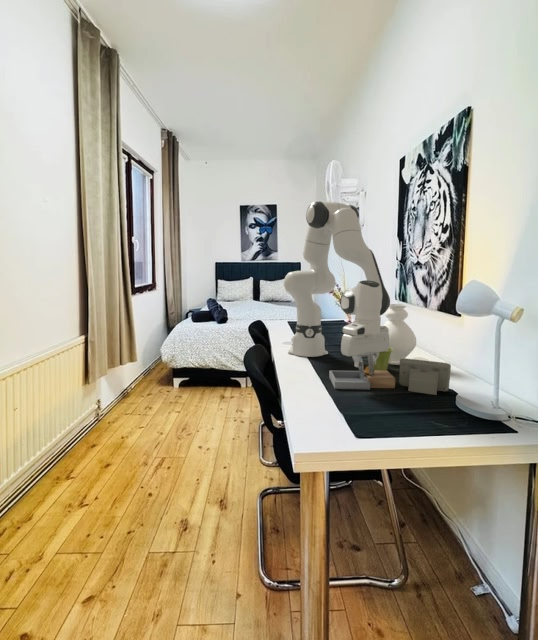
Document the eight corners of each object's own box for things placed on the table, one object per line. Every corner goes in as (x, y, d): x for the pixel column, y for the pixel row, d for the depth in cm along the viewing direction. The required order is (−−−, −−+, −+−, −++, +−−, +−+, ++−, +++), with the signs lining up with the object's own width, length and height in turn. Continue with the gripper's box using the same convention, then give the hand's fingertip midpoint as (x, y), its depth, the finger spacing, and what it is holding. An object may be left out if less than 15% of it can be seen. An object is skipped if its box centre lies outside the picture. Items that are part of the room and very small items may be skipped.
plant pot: (392, 373, 150) (393, 351, 149) (367, 371, 152) (368, 350, 151) (390, 367, 159) (391, 346, 158) (366, 365, 161) (367, 345, 160)
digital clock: (450, 391, 129) (453, 361, 128) (444, 398, 122) (447, 366, 121) (402, 382, 139) (404, 353, 137) (394, 388, 132) (396, 358, 130)
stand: (362, 379, 142) (362, 369, 141) (386, 379, 142) (387, 370, 141) (368, 387, 132) (369, 377, 131) (394, 388, 132) (395, 378, 131)
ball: (371, 371, 138) (363, 371, 138) (372, 364, 137) (364, 364, 137) (374, 375, 135) (366, 376, 135) (375, 368, 134) (366, 368, 134)
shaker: (366, 370, 140) (364, 350, 139) (378, 372, 135) (376, 351, 134) (355, 373, 137) (353, 353, 137) (366, 376, 132) (364, 354, 132)
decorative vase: (376, 354, 181) (379, 302, 177) (416, 358, 173) (420, 304, 170) (369, 363, 165) (372, 305, 161) (413, 368, 158) (417, 308, 154)
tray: (329, 376, 144) (329, 370, 144) (361, 377, 144) (361, 371, 144) (334, 388, 130) (334, 381, 130) (369, 389, 130) (370, 382, 130)
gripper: (382, 324, 142) (379, 360, 144) (339, 327, 132) (337, 366, 134) (395, 326, 136) (392, 364, 138) (351, 330, 126) (349, 371, 129)
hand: (365, 365), depth 136 cm, fingers closed on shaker, 6 cm apart
